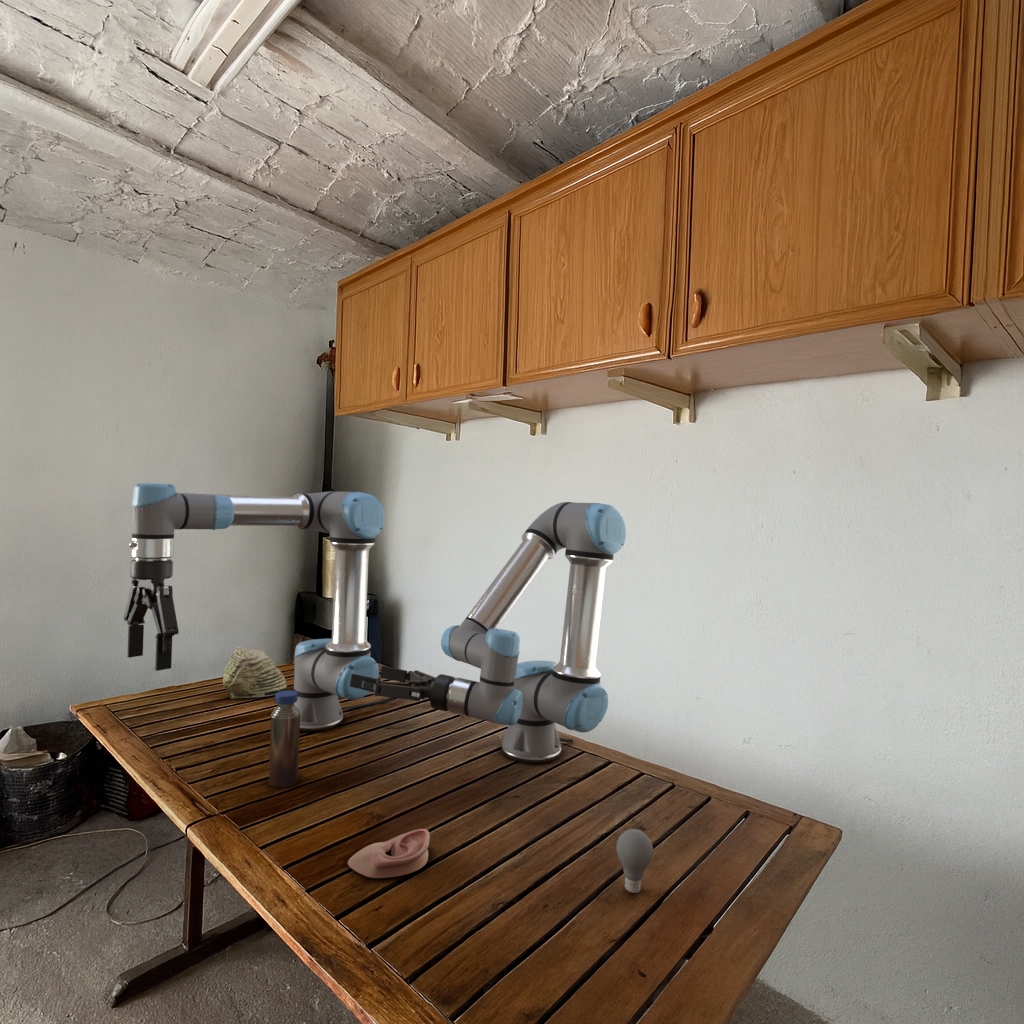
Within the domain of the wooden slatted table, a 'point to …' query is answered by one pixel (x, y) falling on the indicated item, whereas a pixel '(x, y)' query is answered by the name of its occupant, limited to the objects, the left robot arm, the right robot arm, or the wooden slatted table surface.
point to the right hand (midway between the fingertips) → (366, 675)
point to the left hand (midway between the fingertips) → (148, 662)
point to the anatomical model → (393, 856)
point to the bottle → (284, 745)
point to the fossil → (252, 674)
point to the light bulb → (634, 857)
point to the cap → (286, 697)
